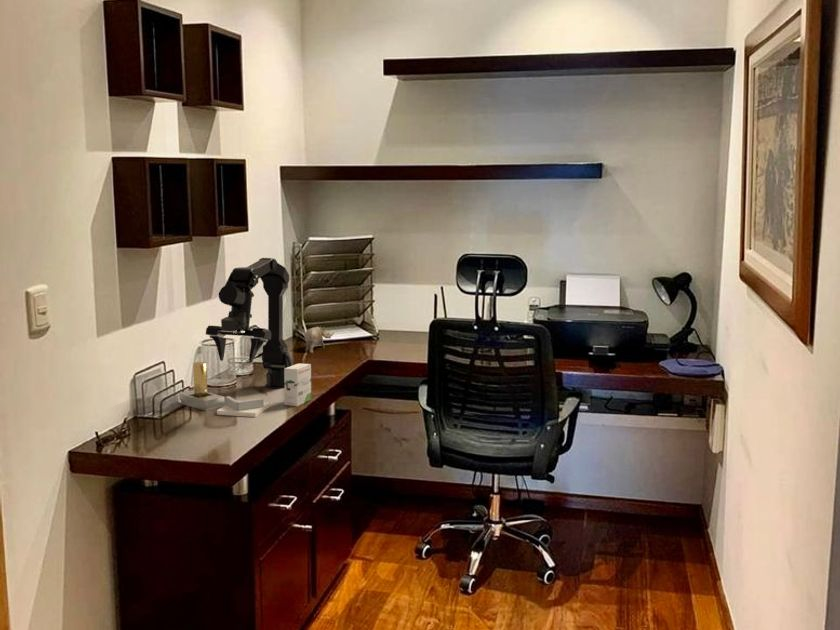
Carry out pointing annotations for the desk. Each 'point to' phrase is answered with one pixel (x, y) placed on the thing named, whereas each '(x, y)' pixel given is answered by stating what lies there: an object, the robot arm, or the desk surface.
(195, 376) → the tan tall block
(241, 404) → the v block
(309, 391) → the ink box
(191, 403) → the grey socket block
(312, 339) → the elephant figurine
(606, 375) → the desk surface
